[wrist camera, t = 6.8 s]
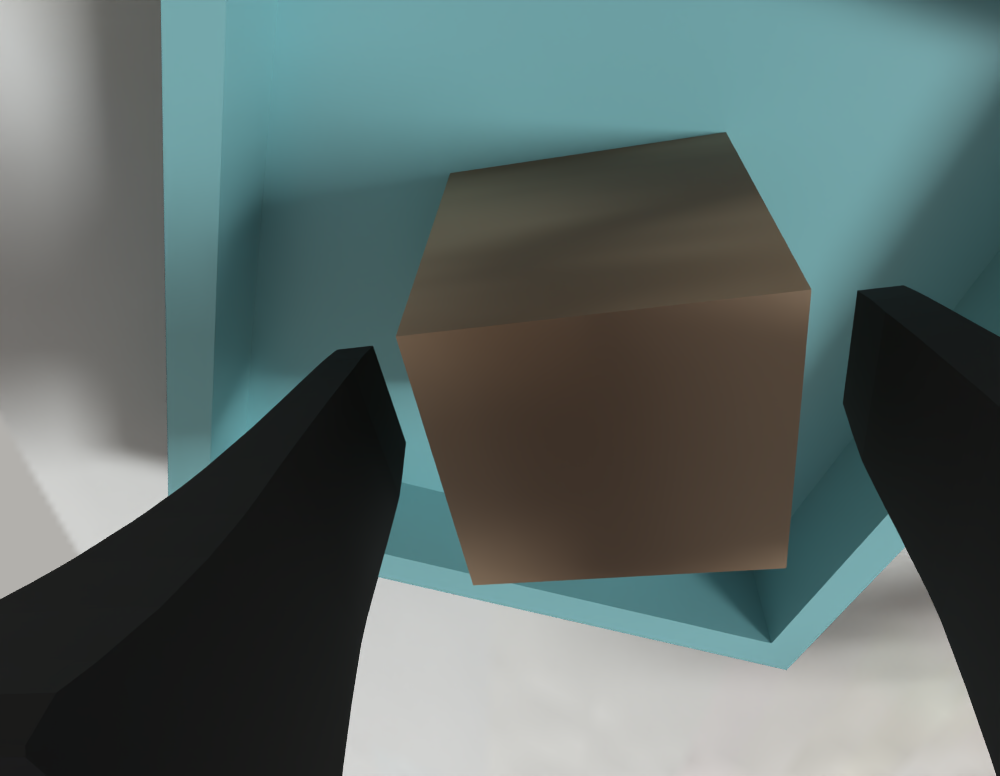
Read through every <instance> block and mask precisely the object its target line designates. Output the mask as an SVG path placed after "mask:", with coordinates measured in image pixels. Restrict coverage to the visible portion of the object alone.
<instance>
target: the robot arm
mask: <svg viewBox="0 0 1000 776" xmlns="http://www.w3.org/2000/svg"><path fill="white" fill-rule="evenodd" d="M843 406H844V409H845V412H846V415H847V418H848V422H849V425H850V428H851V431H852V434H853V437H854V440H855V443H856V446H857V449H858V451H859V454H860V457H861V460H862V462H863V464H864V466H865V468H866V471H867V473H868V475H869V477H870V479H871V481H872V483H873V485H874V487H875V489H876V491H877V493H878V495H879V497H880V499H881V501H882V503H883V505H884V507H885V509H886V510H887V512H888V514H889V516H890V518H891V520H892V522H893V524H894V526H895V528H896V530H897V532H898V534H899V536H900V538H901V540H902V542H903V544H904V546H905V548H906V550H907V551H908V553H909V555H910V557H911V559H912V561H913V563H914V565H915V567H916V569H917V571H918V573H919V575H920V577H921V579H922V581H923V583H924V585H925V587H926V589H927V591H928V593H929V595H930V597H931V600H932V602H933V604H934V606H935V608H936V611H937V613H938V615H939V617H940V620H941V622H942V625H943V627H944V630H945V633H946V635H947V638H948V641H949V643H950V646H951V649H952V651H953V654H954V657H955V659H956V662H957V665H958V667H959V670H960V672H961V675H962V678H963V680H964V683H965V686H966V689H967V691H968V694H969V697H970V700H971V703H972V706H973V709H974V711H975V714H976V717H977V720H978V723H979V726H980V729H981V731H982V734H983V737H984V740H985V743H986V746H987V749H988V751H989V754H990V757H991V760H992V763H993V766H994V770H995V773H996V776H1000V337H999V336H998V335H996V334H994V333H992V332H990V331H989V330H987V329H985V328H983V327H981V326H979V325H978V324H976V323H974V322H972V321H970V320H969V319H967V318H965V317H963V316H962V315H960V314H958V313H956V312H954V311H953V310H951V309H949V308H947V307H945V306H944V305H942V304H940V303H938V302H936V301H934V300H933V299H931V298H929V297H927V296H925V295H923V294H921V293H919V292H917V291H915V290H913V289H911V288H909V287H907V286H904V285H901V286H892V287H883V288H874V289H866V290H857V297H856V305H855V312H854V320H853V328H852V335H851V343H850V351H849V358H848V366H847V374H846V381H845V389H844V397H843ZM405 448H406V441H405V438H404V435H403V432H402V429H401V426H400V423H399V420H398V417H397V414H396V411H395V408H394V406H393V403H392V400H391V397H390V394H389V391H388V388H387V385H386V382H385V379H384V376H383V373H382V370H381V367H380V364H379V362H378V359H377V356H376V353H375V350H374V347H373V346H365V347H356V348H347V349H338V350H336V351H334V352H333V353H332V354H331V355H329V356H328V357H327V358H326V359H325V360H324V361H322V362H321V363H320V364H319V365H318V366H317V367H316V368H315V369H314V370H313V371H312V372H310V373H309V374H308V375H307V376H306V377H305V378H304V379H303V380H302V381H301V382H300V383H299V384H298V385H297V386H296V387H295V388H294V389H292V390H291V391H290V392H289V393H288V394H287V395H286V396H285V397H284V398H283V399H282V400H281V401H280V402H279V403H278V404H277V405H276V406H274V407H273V408H272V409H271V410H270V411H269V412H268V413H267V414H266V415H265V416H264V417H263V418H262V419H261V420H260V421H258V422H257V423H256V424H255V425H254V426H253V427H252V428H251V429H250V430H248V431H247V432H246V433H245V434H244V435H243V436H242V437H240V438H239V439H238V440H237V441H236V442H235V443H233V444H232V445H231V446H230V447H229V448H228V449H226V450H225V451H224V452H223V453H222V454H221V455H219V456H218V457H217V458H216V459H215V460H214V461H213V462H211V463H210V464H209V465H208V466H207V467H206V468H204V469H203V470H202V471H201V472H199V473H198V474H197V475H196V476H194V477H193V478H192V479H191V480H189V481H188V482H187V483H185V484H184V485H183V486H181V487H180V488H179V489H178V490H176V491H175V492H173V493H172V494H171V495H169V496H168V497H167V498H165V499H164V500H162V501H161V502H160V503H158V504H157V505H155V506H154V507H153V508H151V509H150V510H149V511H147V512H146V513H144V514H143V515H141V516H140V517H138V518H137V519H136V520H134V521H133V522H131V523H129V524H128V525H126V526H125V527H123V528H121V529H120V530H118V531H117V532H115V533H114V534H112V535H110V536H109V537H107V538H106V539H104V540H103V541H101V542H99V543H98V544H96V545H95V546H93V547H91V548H90V549H88V550H87V551H85V552H84V553H82V554H80V555H79V556H77V557H76V558H74V559H72V560H71V561H69V562H67V563H66V564H64V565H62V566H60V567H59V568H57V569H55V570H53V571H51V572H50V573H48V574H46V575H44V576H43V577H41V578H39V579H37V580H35V581H34V582H32V583H30V584H28V585H27V586H24V587H22V588H21V589H19V590H17V591H15V592H13V593H11V594H9V595H7V596H6V597H4V598H2V599H0V776H342V772H343V764H344V756H345V749H346V742H347V734H348V727H349V719H350V712H351V704H352V698H353V692H354V685H355V679H356V673H357V667H358V660H359V654H360V648H361V642H362V638H363V633H364V629H365V625H366V620H367V616H368V612H369V609H370V605H371V601H372V598H373V594H374V590H375V587H376V583H377V579H378V576H379V572H380V568H381V565H382V561H383V557H384V554H385V550H386V547H387V543H388V539H389V535H390V532H391V528H392V524H393V520H394V517H395V513H396V509H397V505H398V501H399V497H400V490H401V483H402V475H403V467H404V458H405Z"/></svg>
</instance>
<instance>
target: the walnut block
mask: <svg viewBox="0 0 1000 776" xmlns="http://www.w3.org/2000/svg"><path fill="white" fill-rule="evenodd" d="M810 301H811V288H810V286H809V284H808V282H807V280H806V278H805V277H804V275H803V273H802V271H801V269H800V267H799V266H798V264H797V262H796V260H795V258H794V256H793V255H792V253H791V251H790V249H789V247H788V245H787V243H786V242H785V240H784V238H783V236H782V234H781V232H780V231H779V229H778V227H777V225H776V223H775V221H774V219H773V218H772V216H771V214H770V212H769V210H768V208H767V207H766V205H765V203H764V201H763V199H762V197H761V196H760V194H759V192H758V190H757V188H756V186H755V184H754V183H753V181H752V179H751V177H750V175H749V173H748V172H747V170H746V168H745V166H744V164H743V162H742V161H741V159H740V157H739V155H738V153H737V151H736V149H735V148H734V146H733V144H732V142H731V140H730V138H729V137H728V135H727V133H726V132H723V133H716V134H710V135H703V136H696V137H690V138H683V139H676V140H669V141H663V142H656V143H649V144H643V145H636V146H629V147H622V148H616V149H609V150H602V151H595V152H589V153H582V154H575V155H569V156H562V157H555V158H548V159H542V160H535V161H528V162H522V163H515V164H508V165H501V166H495V167H488V168H481V169H475V170H468V171H461V172H454V173H450V175H449V178H448V181H447V184H446V187H445V190H444V193H443V196H442V199H441V202H440V205H439V208H438V211H437V214H436V217H435V220H434V223H433V226H432V229H431V232H430V235H429V238H428V241H427V244H426V247H425V250H424V253H423V256H422V259H421V262H420V265H419V268H418V271H417V274H416V277H415V280H414V283H413V286H412V289H411V292H410V295H409V298H408V301H407V304H406V307H405V310H404V313H403V316H402V319H401V322H400V325H399V328H398V331H397V334H396V339H397V343H398V346H399V349H400V352H401V355H402V359H403V362H404V365H405V368H406V371H407V375H408V378H409V381H410V384H411V388H412V391H413V394H414V397H415V400H416V404H417V407H418V410H419V413H420V416H421V420H422V423H423V426H424V429H425V432H426V436H427V439H428V442H429V445H430V449H431V452H432V455H433V458H434V461H435V465H436V468H437V471H438V474H439V477H440V481H441V484H442V487H443V490H444V493H445V497H446V500H447V503H448V506H449V509H450V513H451V516H452V519H453V522H454V526H455V529H456V532H457V535H458V538H459V542H460V545H461V548H462V551H463V554H464V558H465V561H466V564H467V567H468V570H469V574H470V577H471V580H472V583H473V585H490V584H508V583H526V582H545V581H563V580H581V579H600V578H618V577H636V576H654V575H673V574H691V573H709V572H728V571H746V570H764V569H782V568H786V566H787V555H788V544H789V532H790V521H791V510H792V499H793V488H794V477H795V466H796V455H797V444H798V433H799V422H800V411H801V400H802V389H803V378H804V367H805V356H806V345H807V334H808V323H809V312H810Z"/></svg>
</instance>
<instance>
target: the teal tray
mask: <svg viewBox="0 0 1000 776" xmlns="http://www.w3.org/2000/svg"><path fill="white" fill-rule="evenodd" d="M161 46H162V111H163V177H164V242H165V307H166V373H167V438H168V496H169V495H171V494H172V493H173V492H175V491H176V490H178V489H179V488H180V487H181V486H183V485H184V484H185V483H187V482H188V481H189V480H191V479H192V478H193V477H194V476H196V475H197V474H198V473H199V472H201V471H202V470H203V469H204V468H206V467H207V466H208V465H209V464H210V463H211V462H213V461H214V460H215V459H216V458H217V457H218V456H219V455H221V454H222V453H223V452H224V451H225V450H226V449H228V448H229V447H230V446H231V445H232V444H233V443H235V442H236V441H237V440H238V439H239V438H240V437H242V436H243V435H244V434H245V433H246V432H247V431H248V430H250V429H251V428H252V427H253V426H254V425H255V424H256V423H257V422H258V421H260V420H261V419H262V418H263V417H264V416H265V415H266V414H267V413H268V412H269V411H270V410H271V409H272V408H273V407H274V406H276V405H277V404H278V403H279V402H280V401H281V400H282V399H283V398H284V397H285V396H286V395H287V394H288V393H289V392H290V391H291V390H292V389H294V388H295V387H296V386H297V385H298V384H299V383H300V382H301V381H302V380H303V379H304V378H305V377H306V376H307V375H308V374H309V373H310V372H312V371H313V370H314V369H315V368H316V367H317V366H318V365H319V364H320V363H321V362H322V361H324V360H325V359H326V358H327V357H328V356H329V355H331V354H332V353H333V352H334V351H336V350H338V349H347V348H356V347H365V346H373V347H374V350H375V353H376V356H377V359H378V362H379V364H380V367H381V370H382V373H383V376H384V379H385V382H386V385H387V388H388V391H389V394H390V397H391V400H392V403H393V406H394V408H395V411H396V414H397V417H398V420H399V423H400V426H401V429H402V432H403V435H404V438H405V441H406V448H405V458H404V467H403V475H402V483H401V490H400V497H399V501H398V505H397V509H396V513H395V517H394V520H393V524H392V528H391V532H390V535H389V539H388V543H387V547H386V550H385V554H384V557H383V561H382V565H381V568H380V572H379V576H378V577H381V578H385V579H389V580H394V581H398V582H403V583H407V584H411V585H416V586H420V587H424V588H429V589H433V590H438V591H442V592H446V593H451V594H455V595H460V596H464V597H468V598H473V599H477V600H482V601H486V602H490V603H495V604H499V605H504V606H508V607H512V608H517V609H521V610H526V611H530V612H534V613H539V614H543V615H548V616H552V617H556V618H561V619H565V620H569V621H574V622H578V623H583V624H587V625H591V626H596V627H600V628H605V629H609V630H613V631H618V632H622V633H627V634H631V635H635V636H640V637H644V638H649V639H653V640H657V641H662V642H666V643H671V644H675V645H679V646H684V647H688V648H693V649H697V650H701V651H706V652H710V653H715V654H719V655H723V656H728V657H732V658H736V659H741V660H745V661H750V662H754V663H758V664H763V665H767V666H772V667H776V668H780V669H785V670H787V669H788V668H789V667H790V666H791V665H792V664H793V663H794V662H795V661H796V660H797V659H798V657H799V656H800V655H801V654H802V653H803V652H804V651H805V650H806V649H807V648H808V647H809V646H810V645H811V644H812V643H813V642H814V641H815V640H816V639H817V638H818V637H819V636H820V635H821V634H822V633H823V632H824V630H825V629H826V628H827V627H828V626H829V625H830V624H831V623H832V622H833V621H834V620H835V619H836V618H837V617H838V616H839V615H840V614H841V613H842V612H843V611H844V610H845V609H846V608H847V607H848V606H849V605H850V603H851V602H852V601H853V600H854V599H855V598H856V597H857V596H858V595H859V594H860V593H861V592H862V591H863V590H864V589H865V588H866V587H867V586H868V585H869V584H870V583H871V582H872V581H873V580H874V579H875V578H876V576H877V575H878V574H879V573H880V572H881V571H882V570H883V569H884V568H885V567H886V566H887V565H888V564H889V563H890V562H891V561H892V560H893V559H894V558H895V557H896V556H897V555H898V554H899V553H900V552H901V551H902V550H903V548H904V547H905V546H904V544H903V542H902V540H901V538H900V536H899V534H898V532H897V530H896V528H895V526H894V524H893V522H892V520H891V518H890V516H889V514H888V512H887V510H886V509H885V507H884V505H883V503H882V501H881V499H880V497H879V495H878V493H877V491H876V489H875V487H874V485H873V483H872V481H871V479H870V477H869V475H868V473H867V471H866V468H865V466H864V464H863V462H862V460H861V457H860V454H859V451H858V449H857V446H856V443H855V440H854V437H853V434H852V431H851V428H850V425H849V422H848V418H847V415H846V412H845V409H844V406H843V397H844V389H845V381H846V374H847V366H848V358H849V351H850V343H851V335H852V328H853V320H854V312H855V305H856V297H857V290H866V289H874V288H883V287H892V286H901V285H904V286H907V287H909V288H911V289H913V290H915V291H917V292H919V293H921V294H923V295H925V296H927V297H929V298H931V299H933V300H934V301H936V302H938V303H940V304H942V305H944V306H945V307H947V308H949V309H951V310H953V311H954V312H956V313H958V314H960V315H962V316H963V317H965V318H967V319H969V320H970V321H972V322H974V323H976V324H978V325H979V326H981V327H983V328H985V329H987V330H989V331H990V332H992V333H994V334H996V335H998V336H999V337H1000V0H161ZM723 132H726V133H727V135H728V137H729V138H730V140H731V142H732V144H733V146H734V148H735V149H736V151H737V153H738V155H739V157H740V159H741V161H742V162H743V164H744V166H745V168H746V170H747V172H748V173H749V175H750V177H751V179H752V181H753V183H754V184H755V186H756V188H757V190H758V192H759V194H760V196H761V197H762V199H763V201H764V203H765V205H766V207H767V208H768V210H769V212H770V214H771V216H772V218H773V219H774V221H775V223H776V225H777V227H778V229H779V231H780V232H781V234H782V236H783V238H784V240H785V242H786V243H787V245H788V247H789V249H790V251H791V253H792V255H793V256H794V258H795V260H796V262H797V264H798V266H799V267H800V269H801V271H802V273H803V275H804V277H805V278H806V280H807V282H808V284H809V286H810V288H811V301H810V312H809V323H808V334H807V345H806V356H805V367H804V378H803V389H802V400H801V411H800V422H799V433H798V444H797V455H796V466H795V477H794V488H793V499H792V510H791V521H790V532H789V544H788V555H787V566H786V568H782V569H764V570H746V571H728V572H709V573H691V574H673V575H654V576H636V577H618V578H600V579H581V580H563V581H545V582H526V583H508V584H490V585H473V583H472V580H471V577H470V574H469V570H468V567H467V564H466V561H465V558H464V554H463V551H462V548H461V545H460V542H459V538H458V535H457V532H456V529H455V526H454V522H453V519H452V516H451V513H450V509H449V506H448V503H447V500H446V497H445V493H444V490H443V487H442V484H441V481H440V477H439V474H438V471H437V468H436V465H435V461H434V458H433V455H432V452H431V449H430V445H429V442H428V439H427V436H426V432H425V429H424V426H423V423H422V420H421V416H420V413H419V410H418V407H417V404H416V400H415V397H414V394H413V391H412V388H411V384H410V381H409V378H408V375H407V371H406V368H405V365H404V362H403V359H402V355H401V352H400V349H399V346H398V343H397V339H396V334H397V331H398V328H399V325H400V322H401V319H402V316H403V313H404V310H405V307H406V304H407V301H408V298H409V295H410V292H411V289H412V286H413V283H414V280H415V277H416V274H417V271H418V268H419V265H420V262H421V259H422V256H423V253H424V250H425V247H426V244H427V241H428V238H429V235H430V232H431V229H432V226H433V223H434V220H435V217H436V214H437V211H438V208H439V205H440V202H441V199H442V196H443V193H444V190H445V187H446V184H447V181H448V178H449V175H450V173H454V172H461V171H468V170H475V169H481V168H488V167H495V166H501V165H508V164H515V163H522V162H528V161H535V160H542V159H548V158H555V157H562V156H569V155H575V154H582V153H589V152H595V151H602V150H609V149H616V148H622V147H629V146H636V145H643V144H649V143H656V142H663V141H669V140H676V139H683V138H690V137H696V136H703V135H710V134H716V133H723Z"/></svg>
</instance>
